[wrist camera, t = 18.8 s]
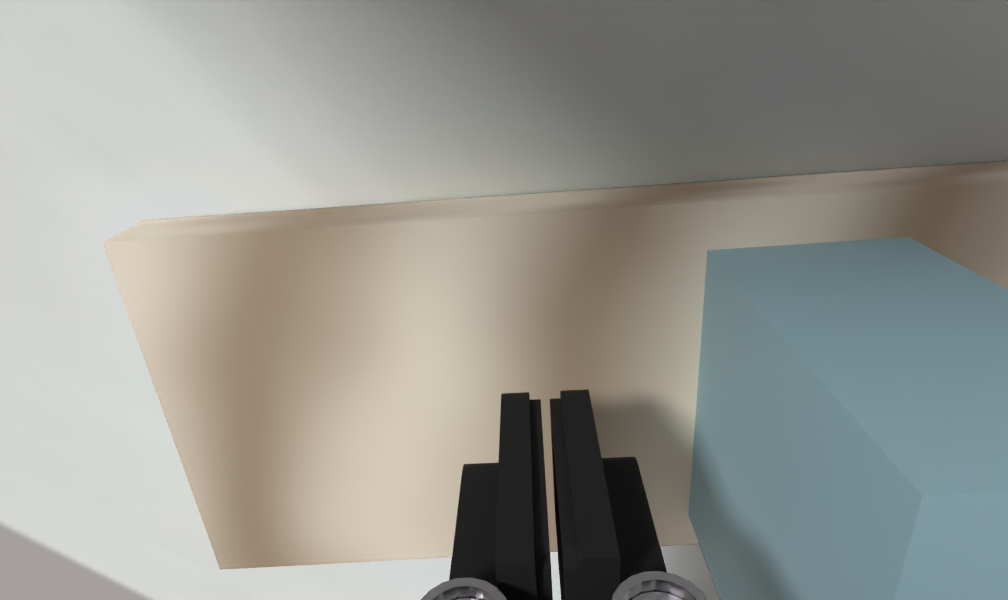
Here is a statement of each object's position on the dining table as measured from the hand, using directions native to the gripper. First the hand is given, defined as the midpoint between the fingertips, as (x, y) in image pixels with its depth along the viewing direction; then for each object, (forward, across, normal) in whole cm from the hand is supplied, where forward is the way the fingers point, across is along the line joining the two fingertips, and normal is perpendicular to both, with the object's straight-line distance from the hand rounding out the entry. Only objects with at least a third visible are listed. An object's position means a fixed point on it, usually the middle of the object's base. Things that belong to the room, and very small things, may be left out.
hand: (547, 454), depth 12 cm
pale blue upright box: (+2, -5, 0) cm, 6 cm away
